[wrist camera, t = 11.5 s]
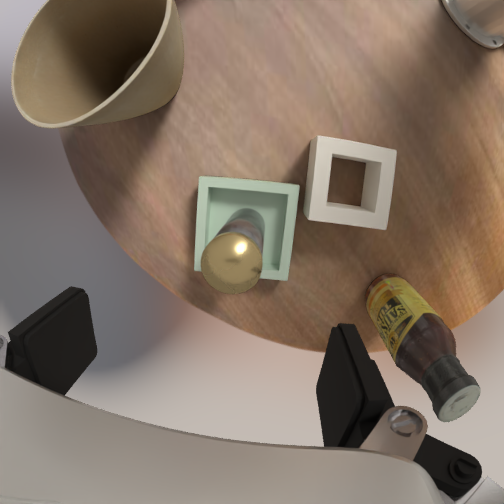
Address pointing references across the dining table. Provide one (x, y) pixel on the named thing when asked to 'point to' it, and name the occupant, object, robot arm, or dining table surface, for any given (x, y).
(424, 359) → the sauce bottle
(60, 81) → the plant pot
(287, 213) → the tray
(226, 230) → the pin
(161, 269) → the dining table surface
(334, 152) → the socket block
